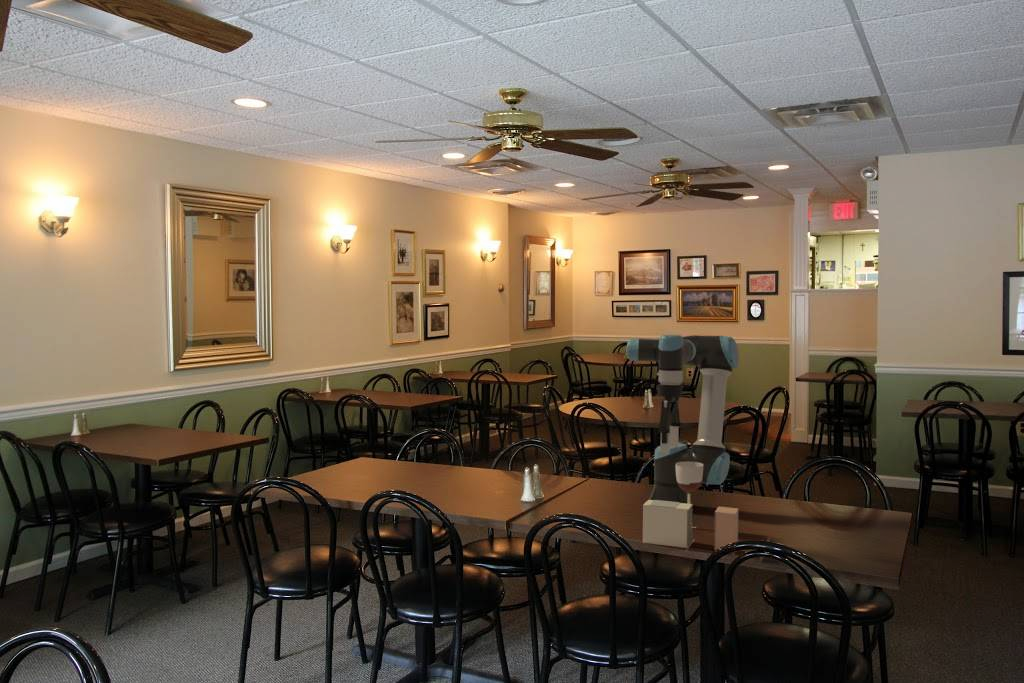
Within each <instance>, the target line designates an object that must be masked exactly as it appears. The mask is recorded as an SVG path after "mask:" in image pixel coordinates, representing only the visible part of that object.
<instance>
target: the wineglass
mask: <svg viewBox="0 0 1024 683" xmlns="http://www.w3.org/2000/svg"><path fill="white" fill-rule="evenodd" d="M702 477H703V464H702V463H698V462H678V463H676V478H677V483H678V485H679V487H680V488H681V489H682V490H684V491H685V492H687V493H688V504H690V501H691V493H693V492H694V491H696V490H698V489H699V488H700V487H701V485H702V483H701V482H702ZM693 529H697V527H696V526H695V527H694V526H693Z"/></svg>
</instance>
